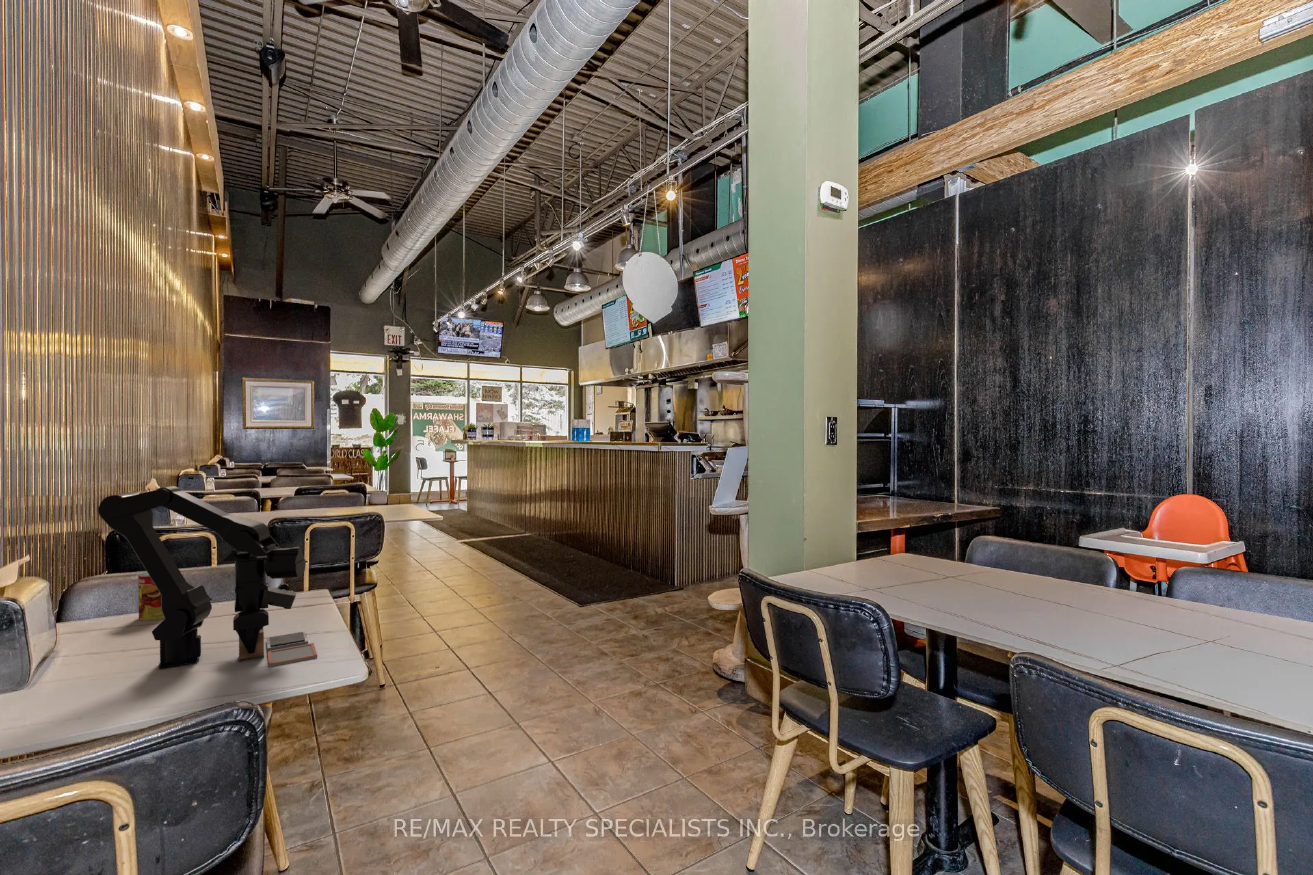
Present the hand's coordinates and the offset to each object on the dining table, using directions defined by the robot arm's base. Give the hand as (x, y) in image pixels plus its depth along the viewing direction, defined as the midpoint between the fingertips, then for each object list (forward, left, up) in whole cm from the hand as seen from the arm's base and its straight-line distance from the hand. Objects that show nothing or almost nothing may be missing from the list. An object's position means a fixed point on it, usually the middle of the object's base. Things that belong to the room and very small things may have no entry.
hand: (251, 649), depth 133 cm
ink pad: (+7, +6, -2) cm, 9 cm away
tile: (+8, -4, -2) cm, 9 cm away
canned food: (-21, +51, -2) cm, 55 cm away
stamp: (0, 0, -2) cm, 2 cm away
